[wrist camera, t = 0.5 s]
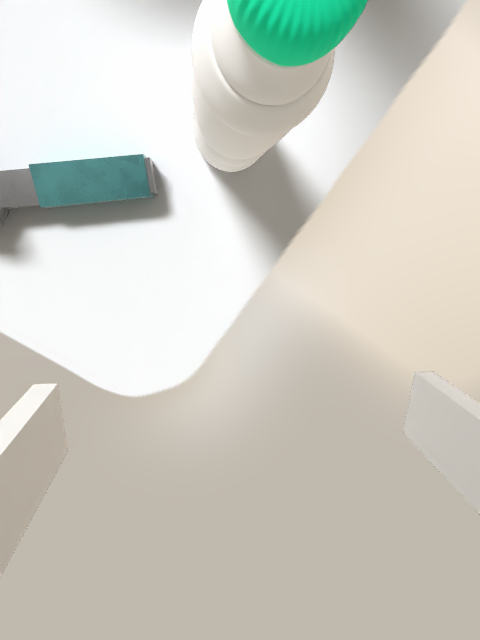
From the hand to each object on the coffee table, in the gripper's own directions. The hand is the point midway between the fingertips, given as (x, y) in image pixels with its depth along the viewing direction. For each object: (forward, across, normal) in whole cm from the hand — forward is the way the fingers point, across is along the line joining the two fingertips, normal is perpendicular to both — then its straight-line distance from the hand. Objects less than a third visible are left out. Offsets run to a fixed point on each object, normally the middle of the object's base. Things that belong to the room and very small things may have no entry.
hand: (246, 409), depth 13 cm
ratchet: (+26, -16, +9) cm, 32 cm away
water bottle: (+27, +2, +14) cm, 30 cm away
